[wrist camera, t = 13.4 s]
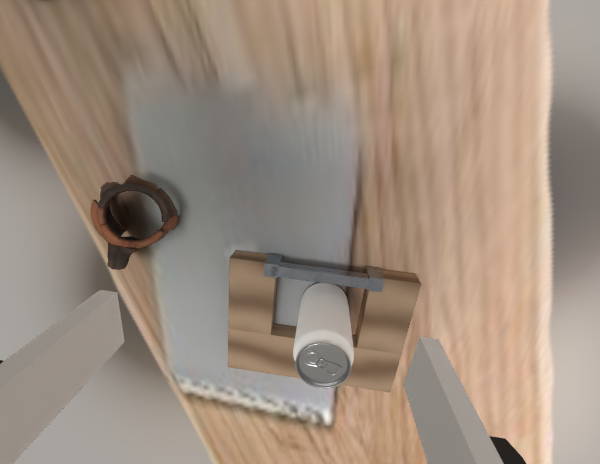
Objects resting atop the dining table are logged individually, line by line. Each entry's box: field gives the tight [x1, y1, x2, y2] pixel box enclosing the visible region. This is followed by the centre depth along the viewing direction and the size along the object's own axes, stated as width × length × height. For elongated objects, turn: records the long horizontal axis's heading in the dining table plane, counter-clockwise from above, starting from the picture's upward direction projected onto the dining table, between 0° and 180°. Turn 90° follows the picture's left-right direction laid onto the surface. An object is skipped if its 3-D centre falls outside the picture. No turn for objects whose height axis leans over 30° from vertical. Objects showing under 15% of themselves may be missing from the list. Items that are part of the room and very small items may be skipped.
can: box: [293, 283, 354, 388], centre depth 34 cm, size 6×6×12 cm
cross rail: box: [264, 253, 385, 292], centre depth 36 cm, size 2×15×3 cm, turn 83°
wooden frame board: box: [228, 250, 421, 392], centre depth 39 cm, size 18×24×2 cm
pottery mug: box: [91, 175, 178, 270], centre depth 36 cm, size 12×10×8 cm
